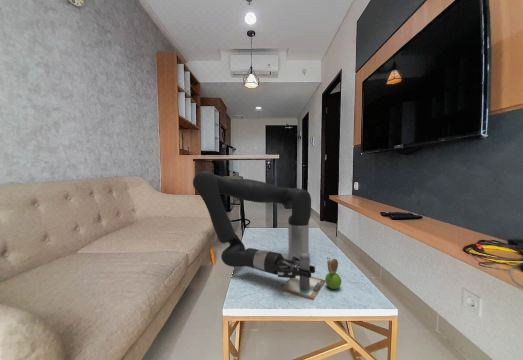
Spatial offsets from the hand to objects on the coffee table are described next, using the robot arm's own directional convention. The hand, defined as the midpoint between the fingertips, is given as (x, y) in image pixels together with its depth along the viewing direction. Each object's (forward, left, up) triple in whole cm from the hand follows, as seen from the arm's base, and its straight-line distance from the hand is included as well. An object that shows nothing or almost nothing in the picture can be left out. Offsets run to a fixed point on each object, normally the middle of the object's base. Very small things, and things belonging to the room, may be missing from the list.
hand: (312, 272), depth 76 cm
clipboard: (-4, -5, -8) cm, 10 cm away
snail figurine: (-8, +5, -8) cm, 12 cm away
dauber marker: (0, -3, -7) cm, 8 cm away
